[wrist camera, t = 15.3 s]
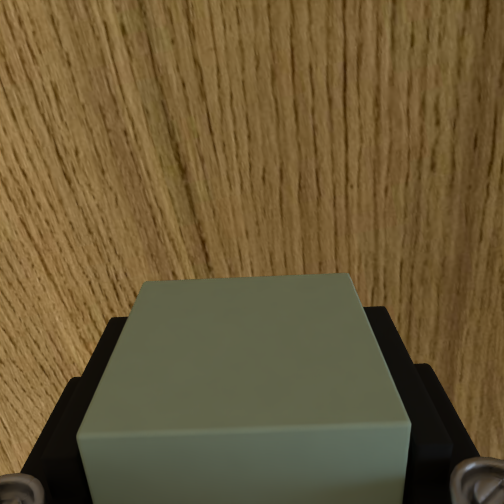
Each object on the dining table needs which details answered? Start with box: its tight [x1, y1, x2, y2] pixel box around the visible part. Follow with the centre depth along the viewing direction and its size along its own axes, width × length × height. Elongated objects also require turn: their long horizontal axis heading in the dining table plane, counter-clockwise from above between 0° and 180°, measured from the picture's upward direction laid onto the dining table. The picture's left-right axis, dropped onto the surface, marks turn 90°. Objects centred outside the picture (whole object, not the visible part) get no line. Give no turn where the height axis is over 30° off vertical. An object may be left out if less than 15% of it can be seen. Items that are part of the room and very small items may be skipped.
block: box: [76, 273, 411, 504], centre depth 9 cm, size 4×4×4 cm
